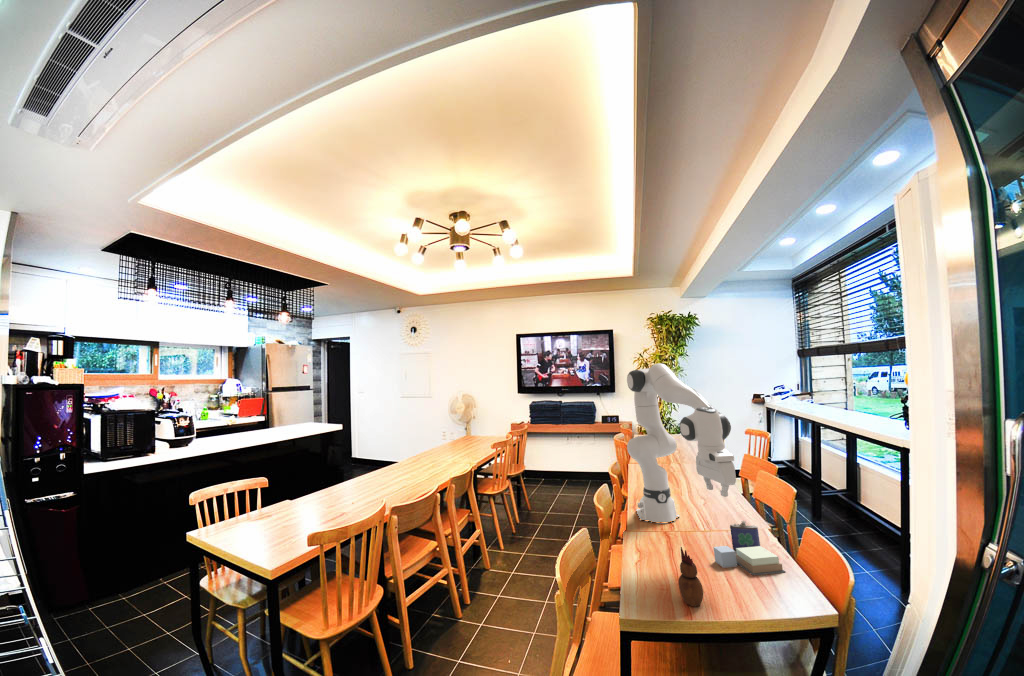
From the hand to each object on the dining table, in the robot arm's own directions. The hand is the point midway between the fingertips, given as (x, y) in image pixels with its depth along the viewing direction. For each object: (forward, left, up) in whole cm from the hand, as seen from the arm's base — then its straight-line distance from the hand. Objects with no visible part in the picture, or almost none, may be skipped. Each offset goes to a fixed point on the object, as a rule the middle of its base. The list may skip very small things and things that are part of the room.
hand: (717, 492), depth 143 cm
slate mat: (+4, +9, -24) cm, 26 cm away
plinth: (+4, +9, -24) cm, 26 cm away
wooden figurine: (+22, -23, -24) cm, 40 cm away
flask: (-8, +13, -24) cm, 29 cm away
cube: (0, 0, -24) cm, 24 cm away
